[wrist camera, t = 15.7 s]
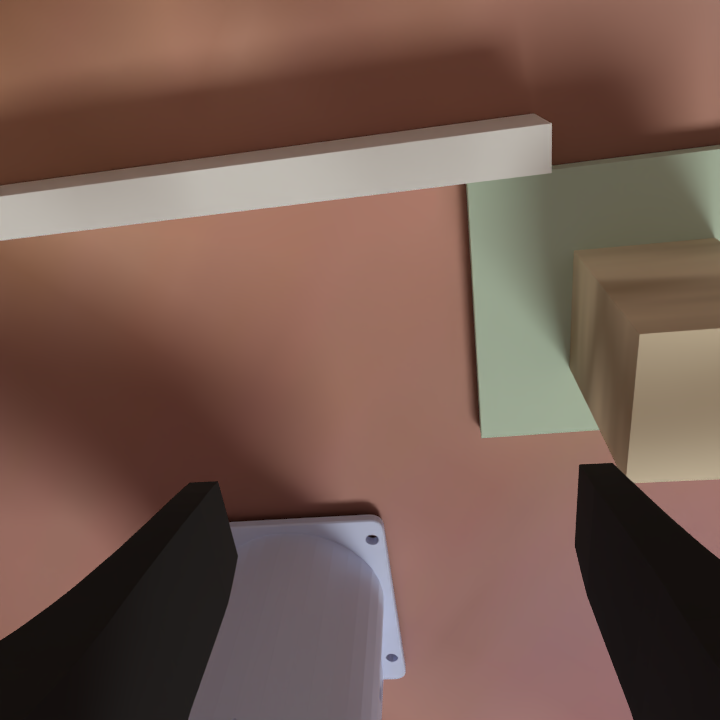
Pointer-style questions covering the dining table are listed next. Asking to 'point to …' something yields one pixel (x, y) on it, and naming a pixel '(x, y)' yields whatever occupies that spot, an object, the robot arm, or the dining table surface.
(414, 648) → the dining table surface
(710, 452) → the birch block
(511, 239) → the sage mat
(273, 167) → the slot rack
